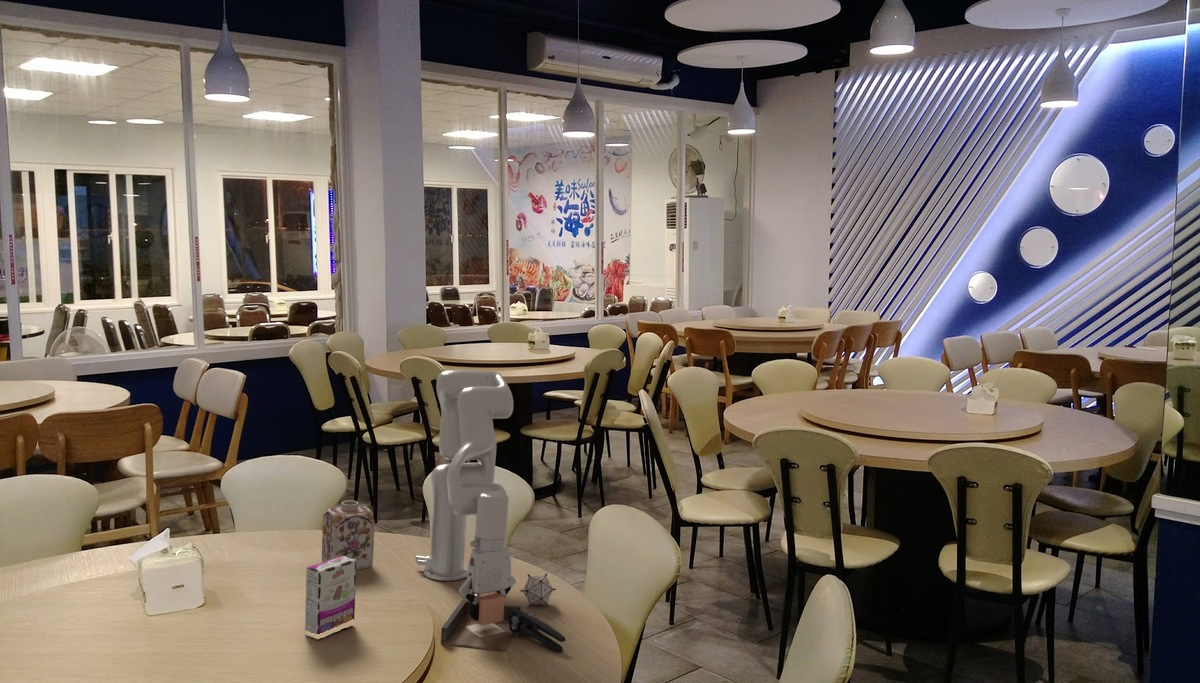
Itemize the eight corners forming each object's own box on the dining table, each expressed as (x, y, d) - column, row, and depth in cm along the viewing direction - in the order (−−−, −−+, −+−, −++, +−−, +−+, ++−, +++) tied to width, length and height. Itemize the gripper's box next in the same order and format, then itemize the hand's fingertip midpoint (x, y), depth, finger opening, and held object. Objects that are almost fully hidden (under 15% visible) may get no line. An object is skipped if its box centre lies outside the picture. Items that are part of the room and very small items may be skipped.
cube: (468, 617, 215) (470, 592, 215) (490, 612, 219) (491, 588, 219) (481, 625, 211) (483, 601, 210) (503, 620, 214) (504, 596, 214)
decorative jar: (360, 555, 263) (363, 495, 261) (373, 568, 253) (376, 506, 251) (319, 560, 256) (322, 499, 255) (331, 573, 246) (334, 509, 245)
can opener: (499, 630, 215) (501, 608, 215) (520, 623, 220) (523, 601, 220) (551, 657, 203) (554, 633, 203) (572, 649, 209) (575, 626, 208)
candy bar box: (340, 620, 215) (343, 554, 214) (354, 626, 213) (358, 559, 211) (302, 635, 206) (305, 566, 205) (317, 641, 203) (320, 571, 202)
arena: (440, 643, 206) (441, 627, 206) (461, 614, 224) (462, 599, 224) (504, 651, 205) (505, 635, 204) (520, 621, 223) (521, 606, 222)
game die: (540, 621, 233) (548, 600, 227) (512, 605, 234) (519, 584, 228) (555, 595, 240) (563, 574, 233) (527, 580, 241) (535, 559, 235)
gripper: (466, 552, 205) (462, 628, 207) (529, 542, 216) (524, 614, 217) (450, 543, 211) (446, 617, 212) (512, 534, 222) (508, 604, 223)
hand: (486, 615), depth 215 cm, fingers closed on cube, 5 cm apart
